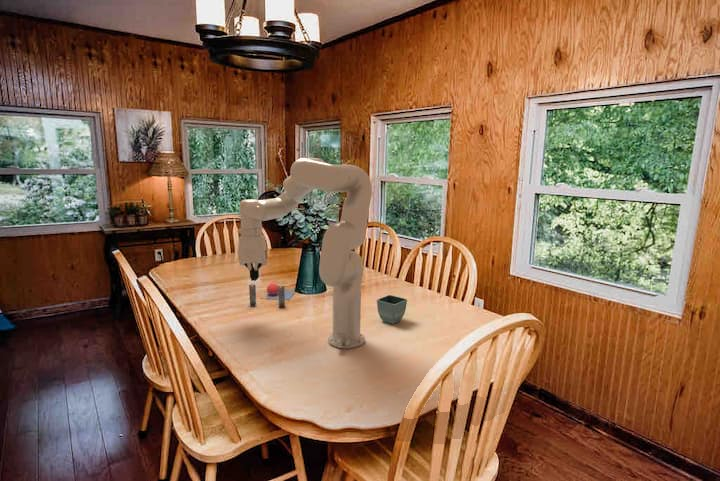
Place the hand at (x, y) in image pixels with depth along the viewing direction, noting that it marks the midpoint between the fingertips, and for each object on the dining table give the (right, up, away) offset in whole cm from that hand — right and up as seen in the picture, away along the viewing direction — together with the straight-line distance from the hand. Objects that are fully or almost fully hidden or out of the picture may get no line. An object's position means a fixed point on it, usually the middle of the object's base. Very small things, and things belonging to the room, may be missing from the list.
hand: (254, 279), depth 157 cm
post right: (+7, -13, +17) cm, 23 cm away
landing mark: (+2, -10, +34) cm, 35 cm away
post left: (-5, -13, +19) cm, 23 cm away
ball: (0, -8, +32) cm, 33 cm away
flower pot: (+53, -17, +3) cm, 55 cm away
